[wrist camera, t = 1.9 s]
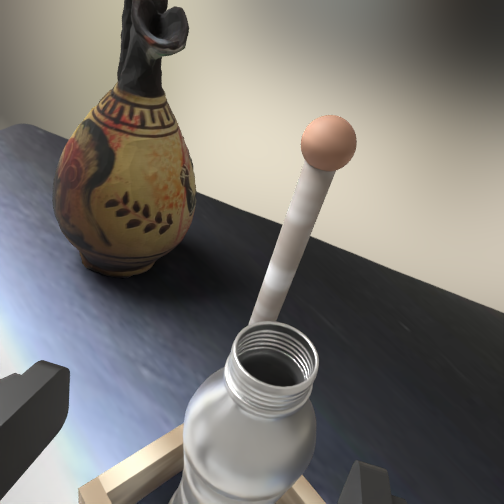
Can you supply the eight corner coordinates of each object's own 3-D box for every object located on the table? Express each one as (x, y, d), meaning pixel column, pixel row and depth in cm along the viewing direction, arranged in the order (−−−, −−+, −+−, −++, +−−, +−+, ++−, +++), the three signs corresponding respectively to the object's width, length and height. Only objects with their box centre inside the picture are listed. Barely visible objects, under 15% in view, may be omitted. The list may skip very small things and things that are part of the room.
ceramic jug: (200, 288, 48) (263, 7, 31) (59, 302, 41) (39, -50, 24) (166, 211, 60) (199, -24, 43) (52, 212, 53) (36, -68, 36)
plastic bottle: (144, 518, 28) (169, 316, 17) (228, 477, 31) (297, 287, 20) (177, 628, 24) (242, 458, 12) (271, 567, 27) (387, 390, 16)
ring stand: (179, 742, 20) (508, 552, 4) (74, 511, 27) (59, 109, 11) (332, 555, 29) (635, 258, 13) (223, 414, 35) (334, 106, 20)
